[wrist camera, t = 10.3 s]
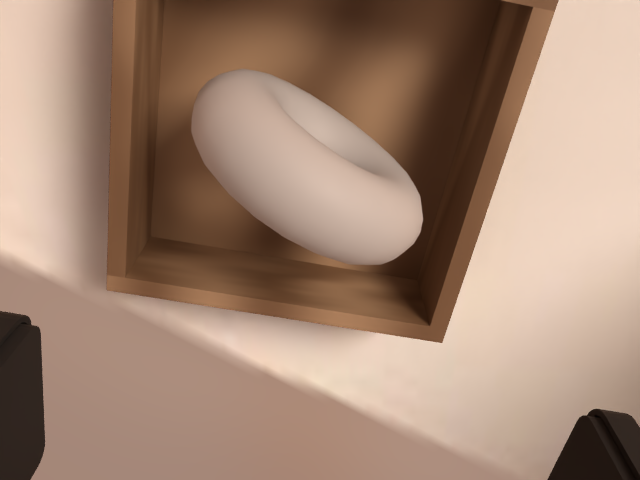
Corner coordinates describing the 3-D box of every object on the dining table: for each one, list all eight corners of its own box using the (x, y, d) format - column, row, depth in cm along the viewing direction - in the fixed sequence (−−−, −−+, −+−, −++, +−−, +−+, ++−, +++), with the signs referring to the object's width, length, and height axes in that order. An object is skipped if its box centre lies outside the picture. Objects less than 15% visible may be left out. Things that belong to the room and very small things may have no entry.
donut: (421, 158, 28) (467, 256, 19) (377, 212, 29) (401, 330, 20) (240, 33, 25) (194, 79, 16) (201, 99, 27) (139, 175, 18)
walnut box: (520, -20, 25) (562, -13, 20) (425, 287, 32) (442, 342, 27) (155, -95, 24) (115, -105, 19) (138, 240, 31) (106, 290, 26)
